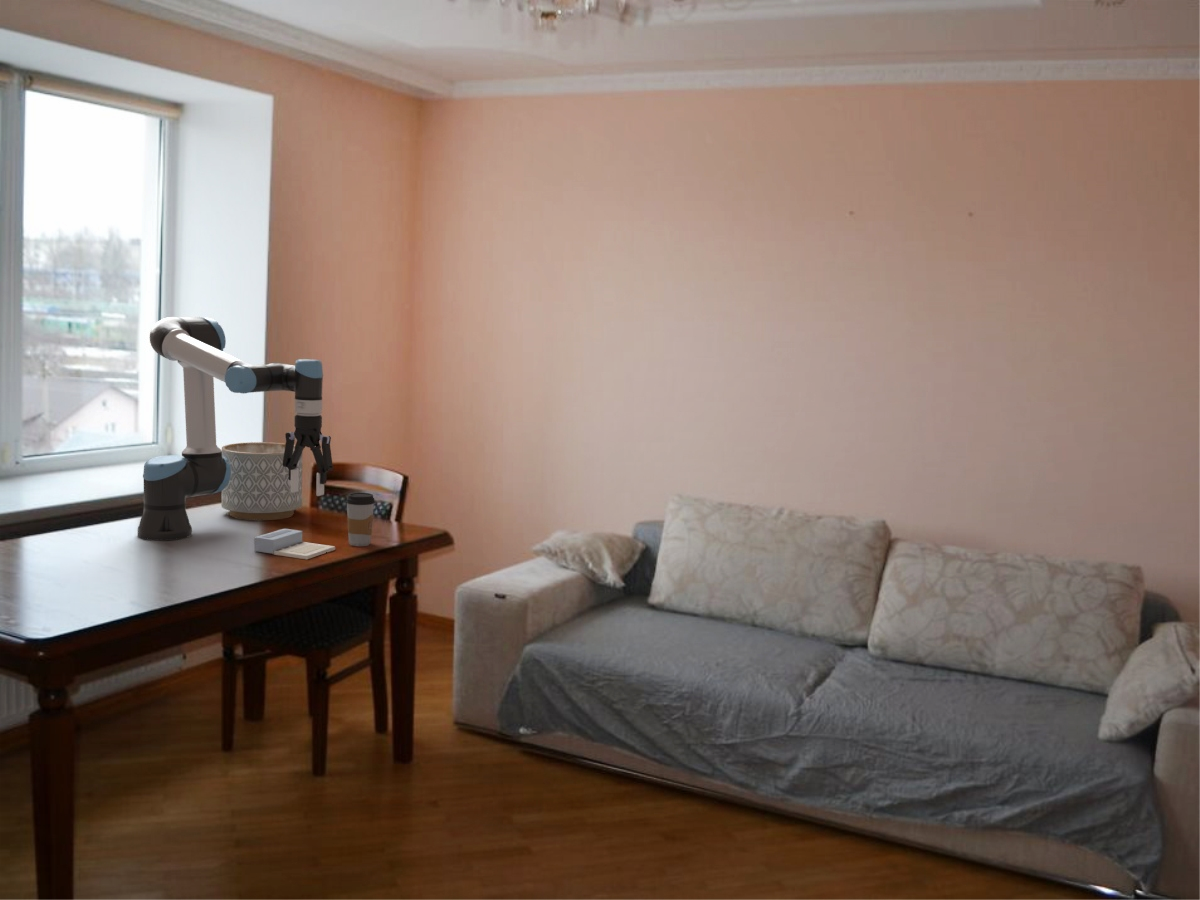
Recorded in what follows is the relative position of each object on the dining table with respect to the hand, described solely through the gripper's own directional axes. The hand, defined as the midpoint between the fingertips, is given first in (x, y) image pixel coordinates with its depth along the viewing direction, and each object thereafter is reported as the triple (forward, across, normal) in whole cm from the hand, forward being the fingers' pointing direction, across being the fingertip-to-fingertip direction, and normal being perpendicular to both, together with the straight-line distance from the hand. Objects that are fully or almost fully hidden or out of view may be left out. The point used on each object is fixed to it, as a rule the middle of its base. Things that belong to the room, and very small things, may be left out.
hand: (307, 493), depth 325 cm
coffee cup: (+17, +7, +17) cm, 25 cm away
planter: (+18, -43, +37) cm, 59 cm away
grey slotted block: (+17, -10, 0) cm, 20 cm away
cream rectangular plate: (+17, 0, 0) cm, 17 cm away
